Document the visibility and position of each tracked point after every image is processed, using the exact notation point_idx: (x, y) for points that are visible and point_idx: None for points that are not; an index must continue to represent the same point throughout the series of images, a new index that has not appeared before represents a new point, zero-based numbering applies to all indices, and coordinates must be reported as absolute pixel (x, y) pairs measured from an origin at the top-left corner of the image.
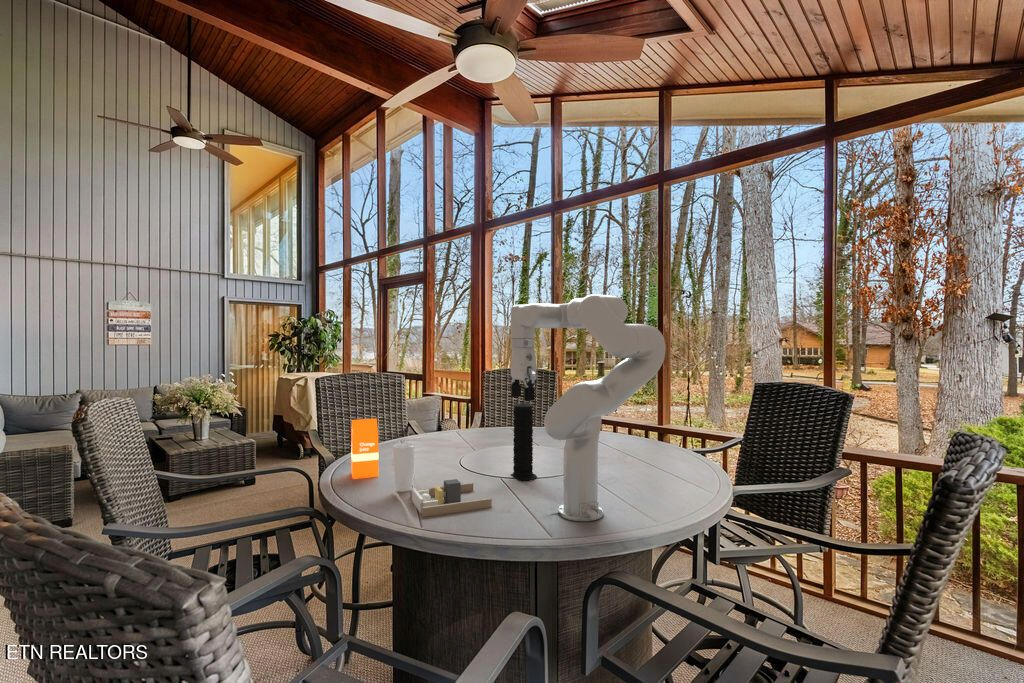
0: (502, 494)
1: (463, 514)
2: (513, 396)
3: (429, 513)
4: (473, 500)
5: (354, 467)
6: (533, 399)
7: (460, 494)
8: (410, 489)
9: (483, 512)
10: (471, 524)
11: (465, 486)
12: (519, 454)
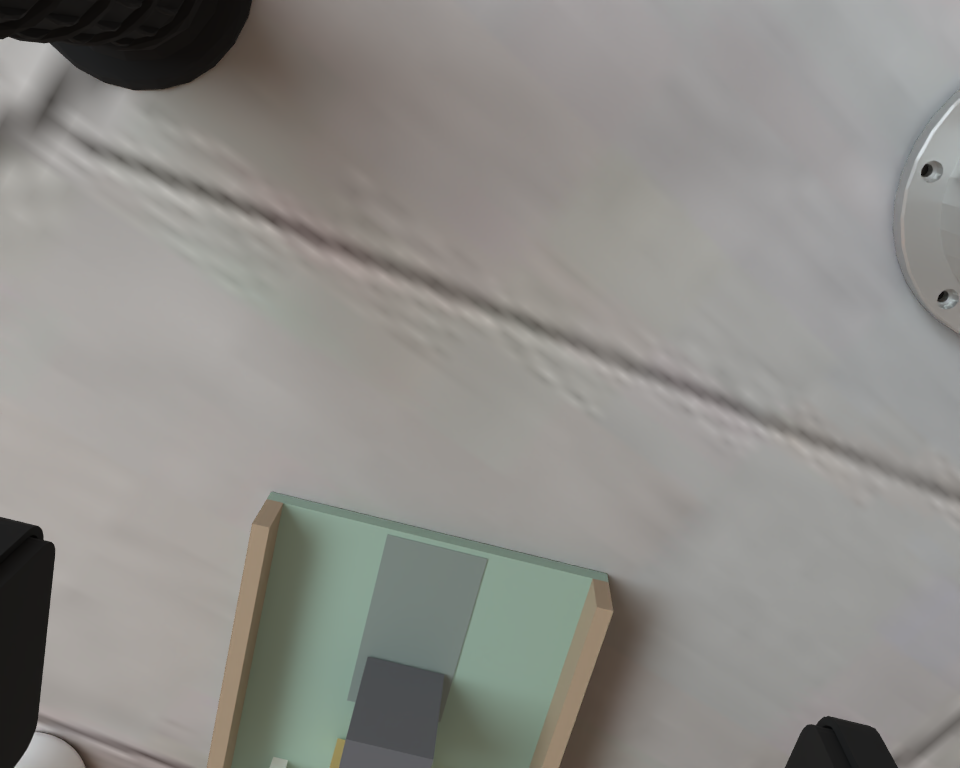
0: (408, 361)
1: None
2: (32, 722)
3: None
4: (568, 700)
5: None
6: (865, 743)
7: (439, 708)
8: (72, 764)
9: None
10: (702, 747)
11: (263, 568)
12: (76, 20)
